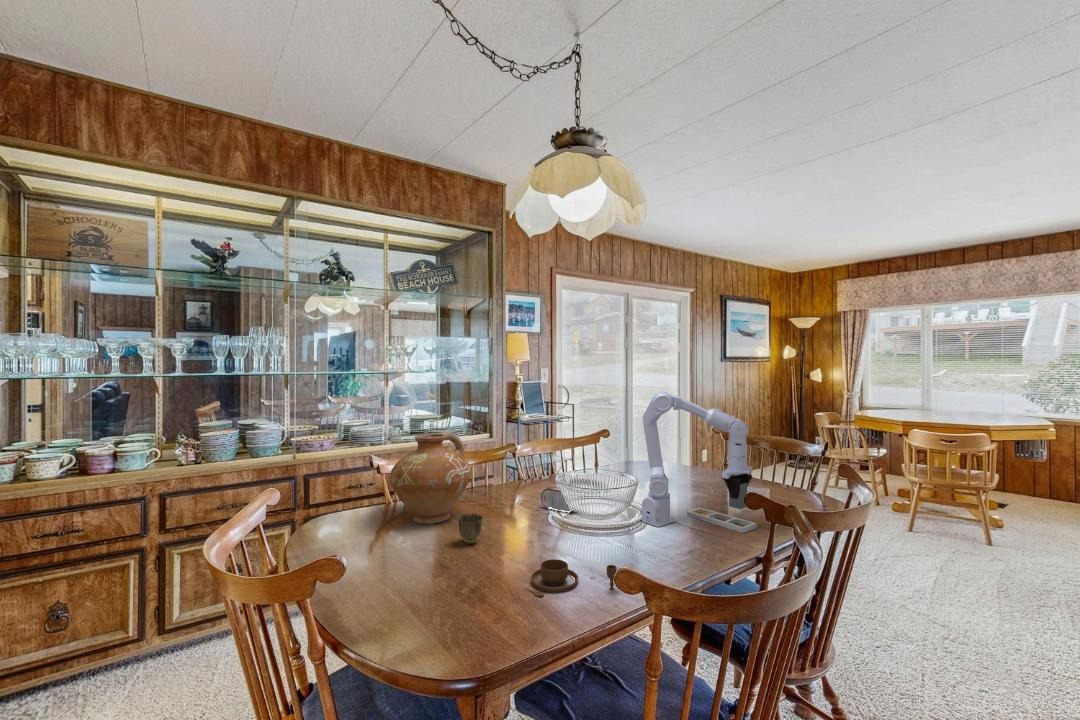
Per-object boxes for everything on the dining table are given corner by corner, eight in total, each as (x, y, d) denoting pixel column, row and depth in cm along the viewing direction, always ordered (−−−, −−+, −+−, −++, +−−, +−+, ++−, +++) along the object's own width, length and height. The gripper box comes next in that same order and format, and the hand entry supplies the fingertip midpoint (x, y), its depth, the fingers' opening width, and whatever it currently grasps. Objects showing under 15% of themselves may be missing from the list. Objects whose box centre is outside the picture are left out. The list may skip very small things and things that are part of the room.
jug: (376, 518, 174) (375, 434, 174) (445, 502, 193) (444, 426, 193) (414, 539, 153) (413, 443, 153) (487, 518, 172) (486, 433, 172)
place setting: (561, 566, 134) (561, 544, 134) (621, 590, 119) (621, 566, 119) (513, 587, 121) (513, 563, 121) (573, 617, 107) (573, 590, 107)
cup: (477, 548, 145) (477, 521, 145) (454, 546, 147) (454, 519, 147) (485, 539, 153) (485, 513, 153) (463, 537, 154) (463, 512, 154)
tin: (579, 513, 178) (579, 489, 178) (575, 515, 175) (575, 492, 175) (544, 506, 186) (544, 484, 186) (539, 509, 183) (539, 486, 183)
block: (740, 509, 158) (740, 484, 158) (729, 506, 162) (729, 482, 162) (747, 507, 161) (747, 482, 161) (736, 504, 164) (735, 480, 164)
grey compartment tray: (743, 533, 156) (743, 528, 156) (687, 515, 173) (687, 511, 173) (756, 527, 160) (756, 523, 160) (700, 511, 178) (700, 507, 178)
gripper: (735, 460, 154) (736, 503, 154) (760, 455, 162) (761, 495, 162) (716, 457, 160) (716, 498, 160) (741, 451, 168) (741, 491, 168)
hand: (737, 497), depth 161 cm, fingers closed on block, 4 cm apart
